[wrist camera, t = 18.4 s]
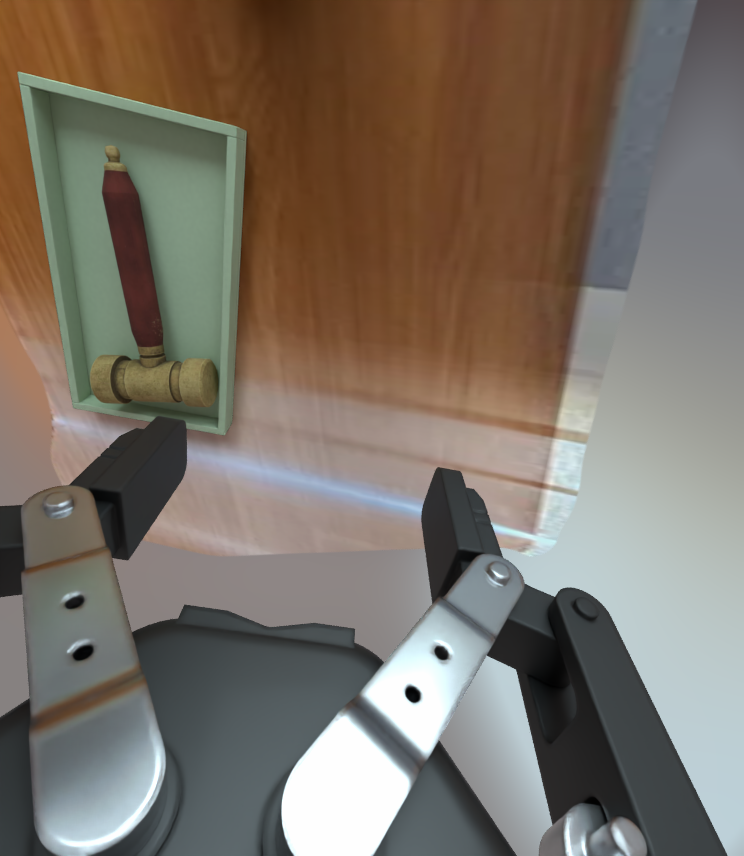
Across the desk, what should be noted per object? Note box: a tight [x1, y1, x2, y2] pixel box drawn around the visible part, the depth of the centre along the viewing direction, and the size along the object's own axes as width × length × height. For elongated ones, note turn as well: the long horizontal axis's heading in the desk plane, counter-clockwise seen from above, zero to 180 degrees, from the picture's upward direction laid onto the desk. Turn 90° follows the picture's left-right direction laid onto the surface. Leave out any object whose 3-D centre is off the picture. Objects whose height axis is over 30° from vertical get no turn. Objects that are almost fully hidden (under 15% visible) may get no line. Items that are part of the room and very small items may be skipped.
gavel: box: [90, 145, 218, 407], centre depth 36 cm, size 21×5×10 cm
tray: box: [18, 72, 247, 435], centre depth 37 cm, size 26×15×3 cm, turn 168°
